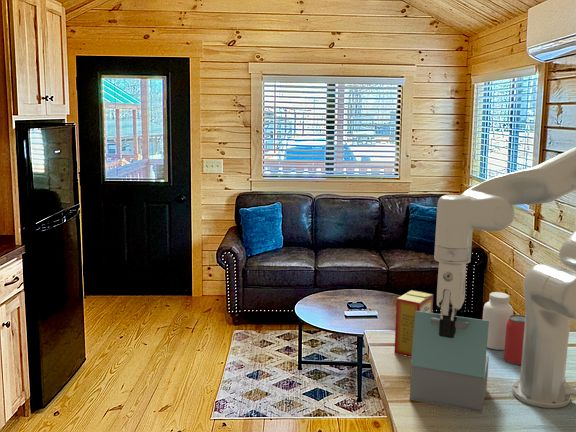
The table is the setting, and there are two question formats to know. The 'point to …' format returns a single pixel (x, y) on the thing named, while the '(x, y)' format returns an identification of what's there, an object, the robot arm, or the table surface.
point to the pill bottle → (497, 319)
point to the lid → (450, 345)
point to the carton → (449, 388)
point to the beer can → (514, 339)
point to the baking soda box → (409, 318)
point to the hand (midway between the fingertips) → (447, 334)
